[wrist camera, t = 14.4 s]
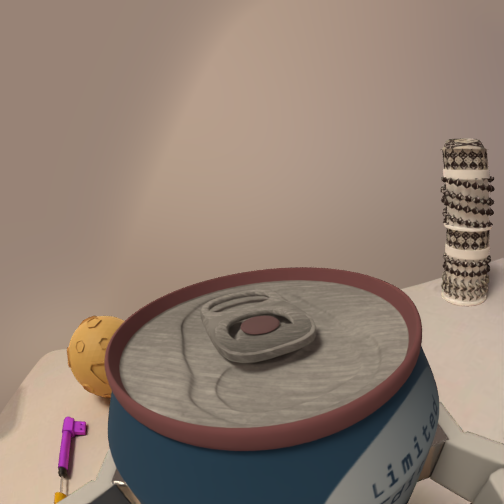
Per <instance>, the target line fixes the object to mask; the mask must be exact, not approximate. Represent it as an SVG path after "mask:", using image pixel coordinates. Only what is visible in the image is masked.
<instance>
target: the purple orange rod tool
mask: <svg viewBox="0 0 504 504" xmlns="http://www.w3.org/2000/svg"><path fill="white" fill-rule="evenodd" d="M62 433H63V434H62V441H61V448H60V455H59V464H58V469H59V471H58V474H59V476H60V477H61V485H60V492H56V493H55V498H54V504H56V503H58V502H59V501H61V500H63V499H64V498H66V497H67V496H66V495H65V494H63V493H62V489H63V478H65V477H66V476H67V471H68V462H69V451H70V442H71V437H75V435H85V434H86V422H81V421H74V418H71V417H66V418H65V419H64V423H63V429H62Z"/></svg>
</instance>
